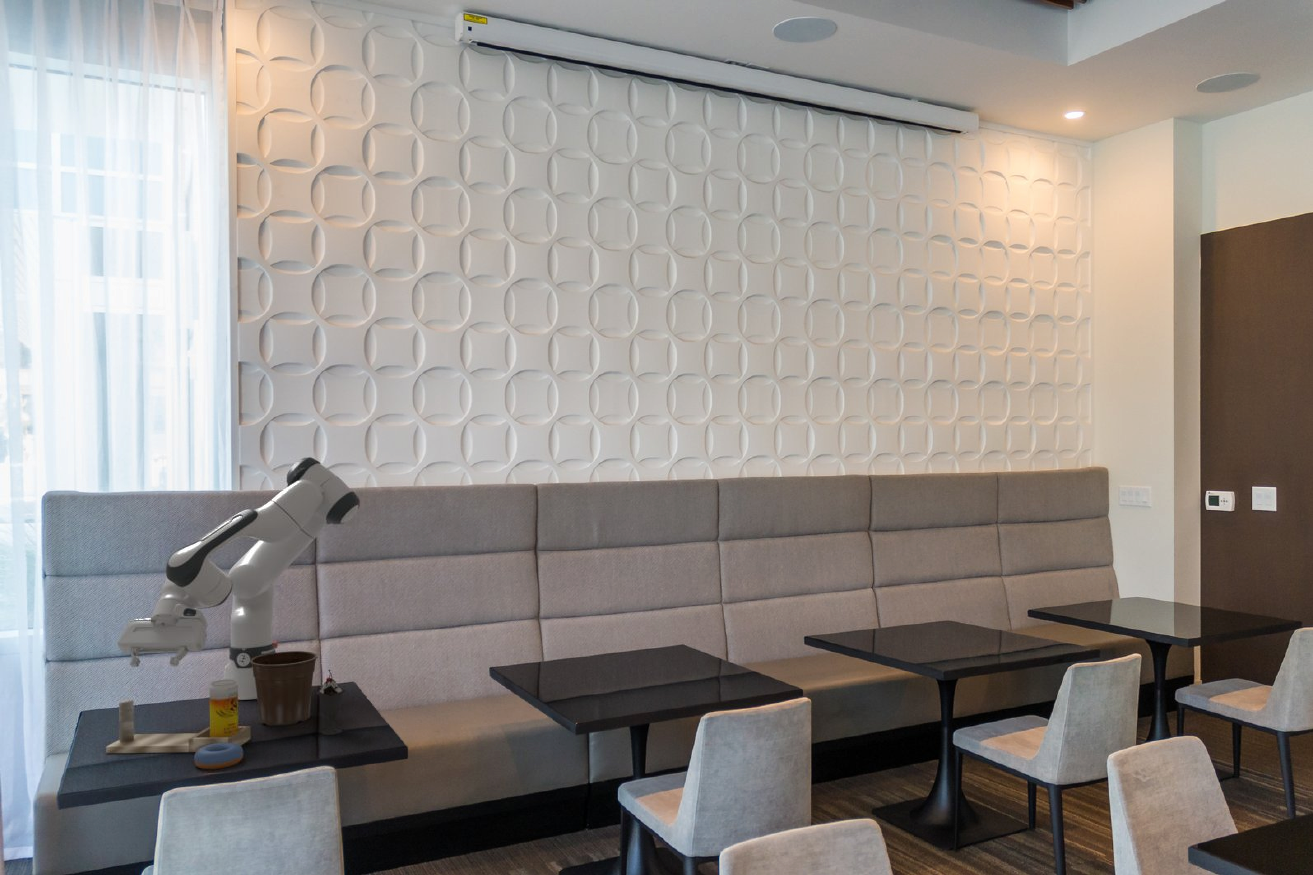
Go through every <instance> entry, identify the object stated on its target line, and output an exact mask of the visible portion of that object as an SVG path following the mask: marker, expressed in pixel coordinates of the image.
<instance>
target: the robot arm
mask: <svg viewBox="0 0 1313 875" xmlns="http://www.w3.org/2000/svg"><path fill="white" fill-rule="evenodd" d="M286 483H287V486H286V488H284V489H283V490H281V491H279V493H278V494H276V495H275V496H273V498H271V500H269V501H268V502H267V503H265V504H264V505H262V506H260V507H258V508H255V509H247V508H246V509H244V510H242V511H240V512H238V513H236V514H235V515H233V516H231V517H230V518H228V519H226V520H224V521H223V522H222V523H220V524H219V525H217V526H216V527H215V528H213V529H212V530H210V531H209V532H207V533H205V534H204V535H202V536H201V537H200V538H198V539H197V540H195V541H193V542H191V543H189V544H188V545H185V546H183V547H181V548H180V549H178V550H176V551H174V552H173V553H172V554H171V556H169V558H168V560H167V563H166V566H165V567H166V568H165V574H166V578H165V581H164V584H163V585H162V588H161V590H160V598H159V600H158V601H157V602H156V604H155V607H154V609H153V612H152V614H151V618H134V619H133V620H130V621H129V622H127V623H126V624H125V627H124V630H123V631H122V632H121V633H122V634H121V635H120V637H119V639H118V641H117V646H118V648H119V650H120V651H121V652H122V653H124V654H130V656H131V657H130V659H131V660H130V662H129V664H130V665H129V666H131V668H138V667H139V666H140V663H141V659H140V658H139V655H140V654H146V653H147V654H148V653H149V654H153V653H154V654H155V653H156V654H157V653H159V654H161V653H177V654H176V655H175V656H171V657H170V660H169V665H170V667H178V666H179V664H180V661H182V660H183V659H184V658H185V657H186V656H187V654H188V653H199V652H201V651H202V650H204V648H205V646H206V641H207V637H208V632H207V628H208V622H207V619H206V616H205V615H204V613H203V611H201V610H202V609H210V608H215V607H218V606H221V605H223V604H224V603H225V602H226V601H227V600H228V598H229V597H230V595H231V594H232V604H231V616H230V646H229V648H228V649H229V650H228V657H229V658H228V659H229V662H228V663H227V664H226V665H225V666H224V673H223V674H224V675H223V680H228V679H230V680H236V683H237V685H238V701H244V700H246V701H247V700H257V692H256V683H255V677H254V676H253V667H252V664H251V663H250V660H251V659H252V658H254V657H257V656H260V655H264V654H270V653H277V652H276V649H277V648H278V647H279V644H278V643H279V642H278V641H273V637H274V636H273V610H274V609H273V608H274V596H275V581H276V580H277V579H278V578H279V577H280V576H281V574H283V572H285V571H286V570H287V568H289V566H291V565H292V563H293V562H294V561H295V560H296V559H297V558H298V557H299V556H300V555H301V554H302V553H303V552H304V550H306V549H307V547H308V546H310V544H312V542H314V541H315V539H316V538H317V537H318V536H319V535H320V534H321V532H322V531H323V530H324V529H325V527H326V526H327V525H331V524H333V525H343V524H345V523H346V522H347V521H349V520H352V518H353V517H355V515H356V514H357V512H358V510H359V509H360V503H361V500H360V498H359V496H358V495H357V494H356V492H355V491H352V490H351V488H350V487H349V486H348V485H347V484H346V483H345V482H344V481H343V480H342V479H341V478H340V477H339V476H338V475H336V474H335V473H333V472H332V471H331V470H330V469H328V468H327V467H326V466H324V465H323V464H322V463H321V462H320V461H319V460H317V459H315V458H313V457H311V456H310V457H304V458H301V459H300V460H298V461H296V462H295V463H294V464H293V465H292V466H291V467H290V469H289V470H288V472H287V474H286ZM243 537H245V538H246V537H248V538H253V539H255V540H258V541H257V542H256V543H254V545H253V546H252V547H250V549H249V550H248V551H247V552H245V554H243V556H241V557H240V559H238V561H236V563H235V564H234V565H233V566H232V567H231V568H230V569H229V571H228V573H227V574H226V573H225V572H224V571H223V570H222V569H221V568H219V567H218V566H217V564H215V563H214V562H213V561H212V560H211V559H210V558H212V556H213V555H215V554H216V553H217V552H220V550H222V549H223V548H226V546H228V545H229V544H231V543H232V542H234V541H235V540H237V539H239V538H243ZM200 609H201V610H200Z"/></svg>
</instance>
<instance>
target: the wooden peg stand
mask: <svg viewBox="0 0 1313 875" xmlns="http://www.w3.org/2000/svg"><path fill="white" fill-rule="evenodd" d="M134 701H135V700H132V699H125V700H122V701H121V700H120V701H119V702H118V711H119V712H118V716H119V717H118V720H119V721H118V723H119V724H118V726H119V727H118V728H119V730H118V732H119V733H118V734H119V737H118V738H119V739H118V740H116V741H114V742H112V743H110V744H108V745H107V746H106V747H105V748H106V749H105V753H106V754H141V753H142V754H143V753H144V754H146V753H147V754H150V753H151V754H152V753H154V754H155V753H196V752H197V751H198V750H199V749H200V748H202V747H205V746H207V745H211V744H216V743H236V744H238V745H240V746H241V747H242V746H243V745H244V744H245V743H247V742H248V741H250V740H251V725H248V726H247V725H241V726H239V725H238V732H237V733H235V734H234V735H232V736H231V737H210V726H208V727H206V728H204V729H203V730H200V732H198V733H197V732H193V733H191V732H190V733H189V732H188V733H135V728H134V727H135V724H134V723H135V719H134V718H135V716H134V715H135V712H134V710H135V707H134V704H135V702H134Z"/></svg>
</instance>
